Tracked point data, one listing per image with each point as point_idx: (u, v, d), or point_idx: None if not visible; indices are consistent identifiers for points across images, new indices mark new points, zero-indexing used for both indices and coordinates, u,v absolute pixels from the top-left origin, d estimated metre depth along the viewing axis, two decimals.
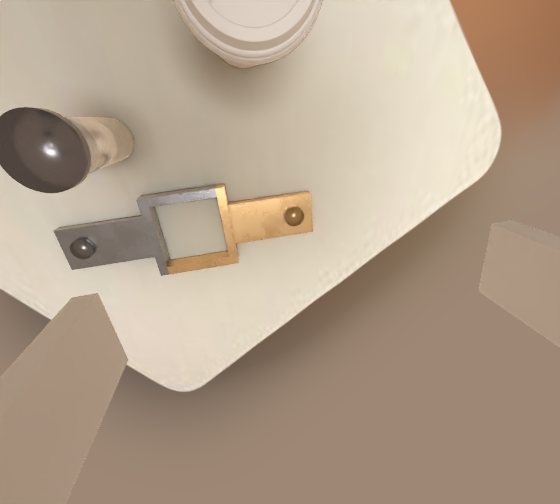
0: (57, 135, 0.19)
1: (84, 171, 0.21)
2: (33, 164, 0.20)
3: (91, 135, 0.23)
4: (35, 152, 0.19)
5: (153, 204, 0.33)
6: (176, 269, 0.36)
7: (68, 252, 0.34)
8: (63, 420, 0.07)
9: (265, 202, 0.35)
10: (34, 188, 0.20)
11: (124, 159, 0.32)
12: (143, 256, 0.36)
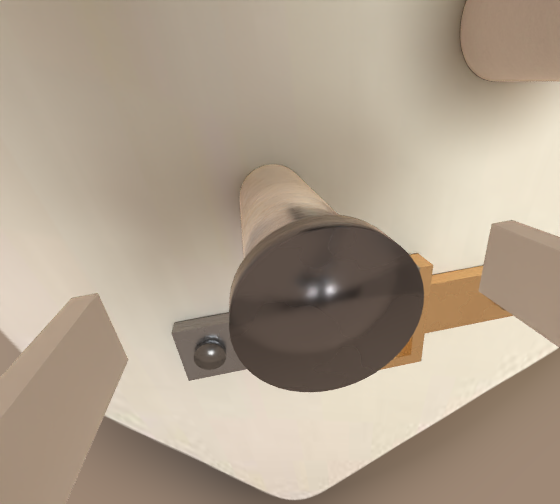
0: (383, 284, 0.08)
1: None
2: (306, 344, 0.08)
3: None
4: (320, 321, 0.08)
5: None
6: None
7: (187, 359, 0.23)
8: (63, 420, 0.07)
9: (475, 280, 0.24)
10: (290, 387, 0.09)
11: None
12: None
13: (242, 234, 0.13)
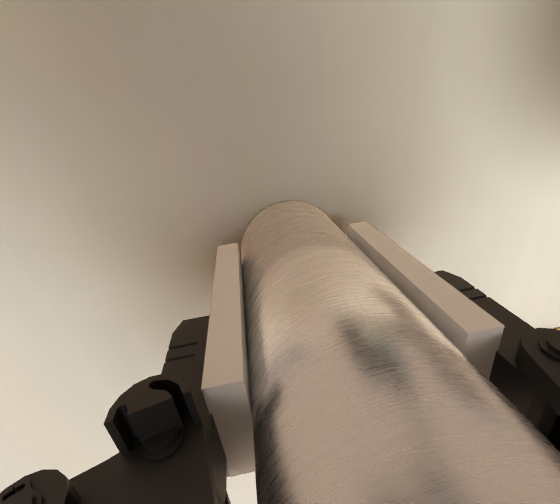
0: None
1: None
2: None
3: None
4: None
5: None
6: None
7: None
8: None
9: None
10: None
11: None
12: None
13: (249, 366, 0.07)
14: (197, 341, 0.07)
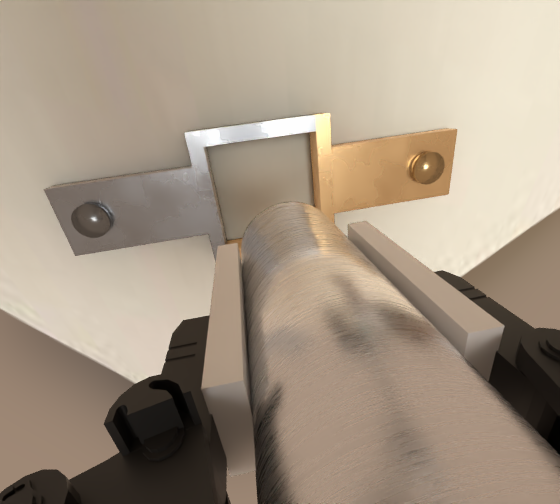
0: None
1: None
2: None
3: None
4: None
5: (211, 141, 0.19)
6: (240, 254, 0.23)
7: (69, 226, 0.21)
8: None
9: (386, 144, 0.22)
10: None
11: None
12: (188, 233, 0.22)
13: (249, 369, 0.07)
14: (197, 341, 0.07)
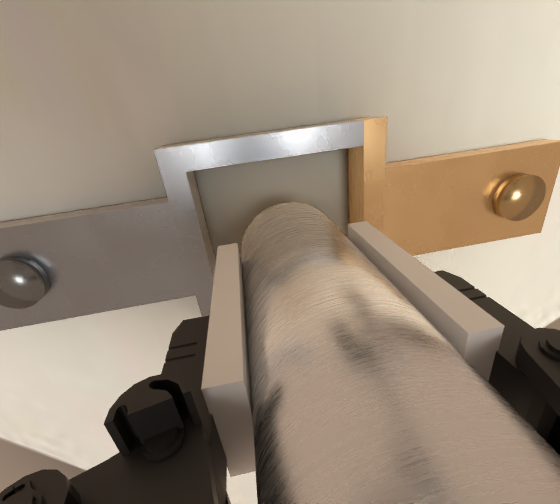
0: None
1: None
2: None
3: None
4: None
5: (199, 163, 0.12)
6: None
7: None
8: None
9: (462, 164, 0.14)
10: None
11: None
12: (167, 295, 0.15)
13: (249, 368, 0.07)
14: (197, 341, 0.07)
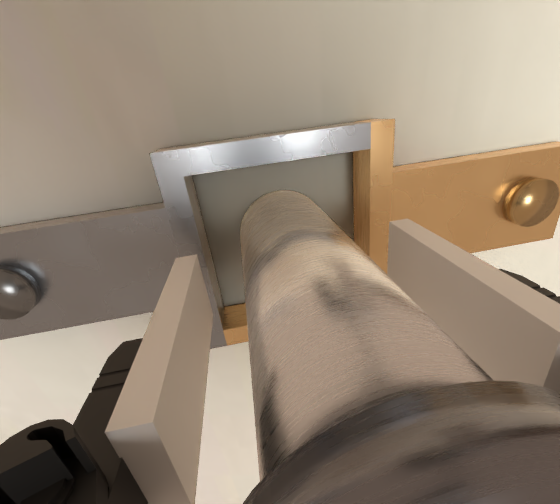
0: None
1: None
2: None
3: None
4: None
5: (197, 168, 0.11)
6: (244, 334, 0.15)
7: None
8: (196, 344, 0.08)
9: (472, 167, 0.14)
10: None
11: None
12: None
13: (247, 313, 0.08)
14: (130, 367, 0.07)
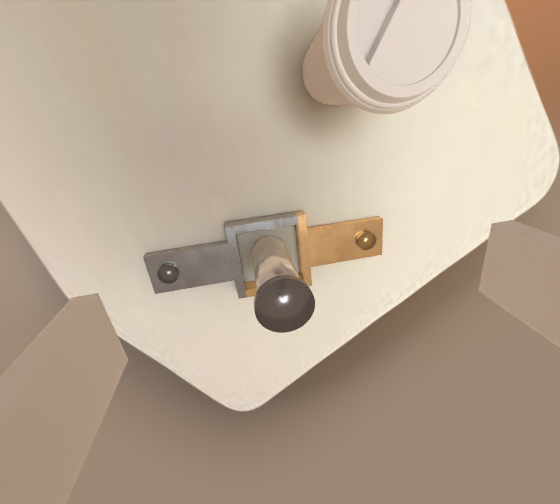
0: (300, 295, 0.26)
1: None
2: (278, 314, 0.26)
3: None
4: (282, 307, 0.26)
5: (239, 231, 0.34)
6: (253, 292, 0.37)
7: (154, 277, 0.36)
8: (63, 420, 0.07)
9: (340, 228, 0.37)
10: (273, 330, 0.27)
11: None
12: (222, 280, 0.37)
13: (255, 275, 0.31)
14: None
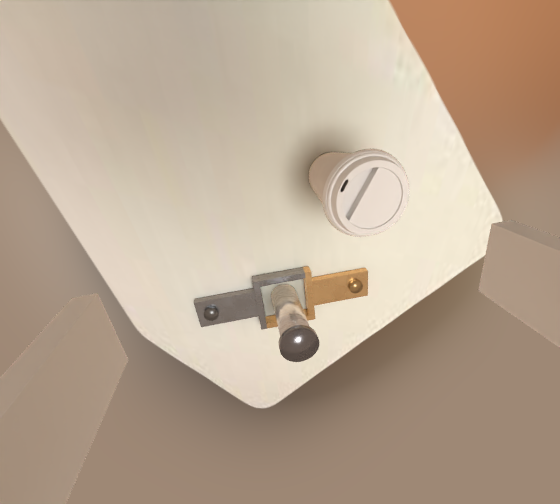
0: (309, 338, 0.39)
1: None
2: (295, 351, 0.40)
3: None
4: (297, 346, 0.39)
5: (263, 284, 0.47)
6: (272, 325, 0.51)
7: (200, 316, 0.49)
8: (63, 420, 0.07)
9: (336, 278, 0.50)
10: (292, 360, 0.40)
11: None
12: (249, 316, 0.51)
13: (277, 319, 0.44)
14: None
